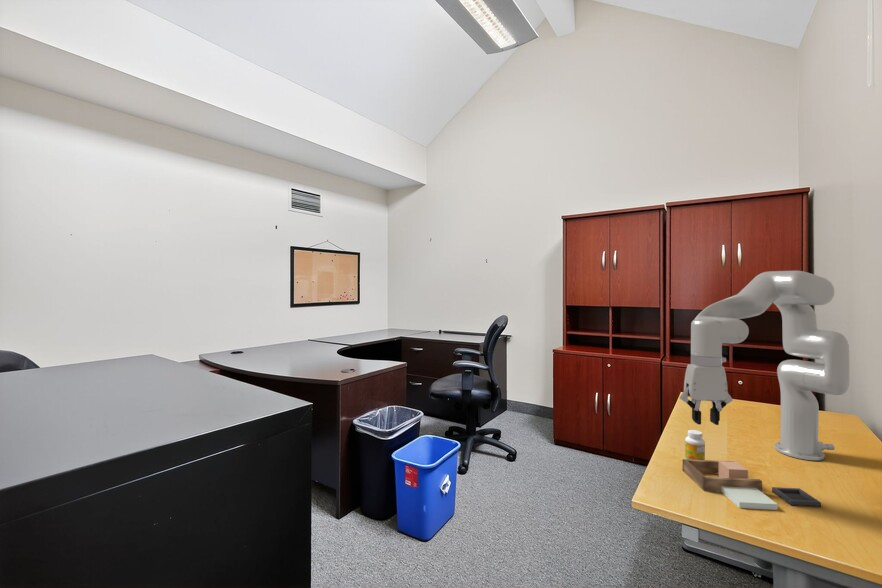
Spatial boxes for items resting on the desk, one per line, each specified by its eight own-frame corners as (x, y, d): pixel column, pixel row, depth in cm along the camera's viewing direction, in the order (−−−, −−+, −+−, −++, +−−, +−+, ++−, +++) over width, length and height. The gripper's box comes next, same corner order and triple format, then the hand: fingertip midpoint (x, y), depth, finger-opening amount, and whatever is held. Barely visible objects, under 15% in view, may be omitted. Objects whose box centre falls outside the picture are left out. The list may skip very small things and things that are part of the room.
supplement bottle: (681, 458, 130) (681, 429, 130) (696, 457, 130) (696, 428, 130) (693, 465, 125) (693, 435, 124) (708, 464, 125) (709, 434, 125)
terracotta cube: (736, 478, 116) (736, 461, 116) (747, 487, 111) (747, 469, 111) (718, 477, 117) (718, 461, 117) (728, 486, 112) (728, 469, 112)
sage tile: (756, 493, 108) (756, 487, 108) (777, 509, 100) (777, 504, 100) (721, 491, 109) (721, 486, 109) (739, 507, 101) (739, 502, 101)
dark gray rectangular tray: (799, 492, 108) (799, 488, 108) (821, 507, 101) (821, 502, 101) (771, 491, 109) (772, 487, 109) (791, 505, 102) (791, 501, 102)
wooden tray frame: (734, 472, 120) (734, 461, 120) (762, 493, 108) (762, 481, 108) (682, 470, 121) (682, 459, 121) (703, 490, 109) (703, 478, 109)
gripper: (729, 359, 117) (728, 419, 117) (669, 358, 119) (669, 418, 119) (745, 364, 109) (744, 428, 110) (681, 363, 111) (681, 426, 112)
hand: (705, 422), depth 115 cm, fingers open, 4 cm apart
